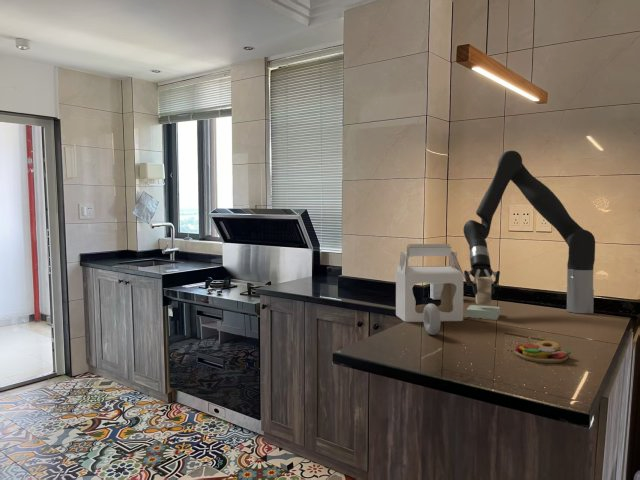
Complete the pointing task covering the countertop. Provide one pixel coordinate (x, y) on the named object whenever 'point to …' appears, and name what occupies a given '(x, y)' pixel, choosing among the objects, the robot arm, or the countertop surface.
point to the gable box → (429, 274)
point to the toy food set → (542, 352)
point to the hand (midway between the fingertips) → (484, 293)
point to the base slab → (483, 312)
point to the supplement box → (436, 291)
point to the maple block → (483, 290)
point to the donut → (431, 319)
